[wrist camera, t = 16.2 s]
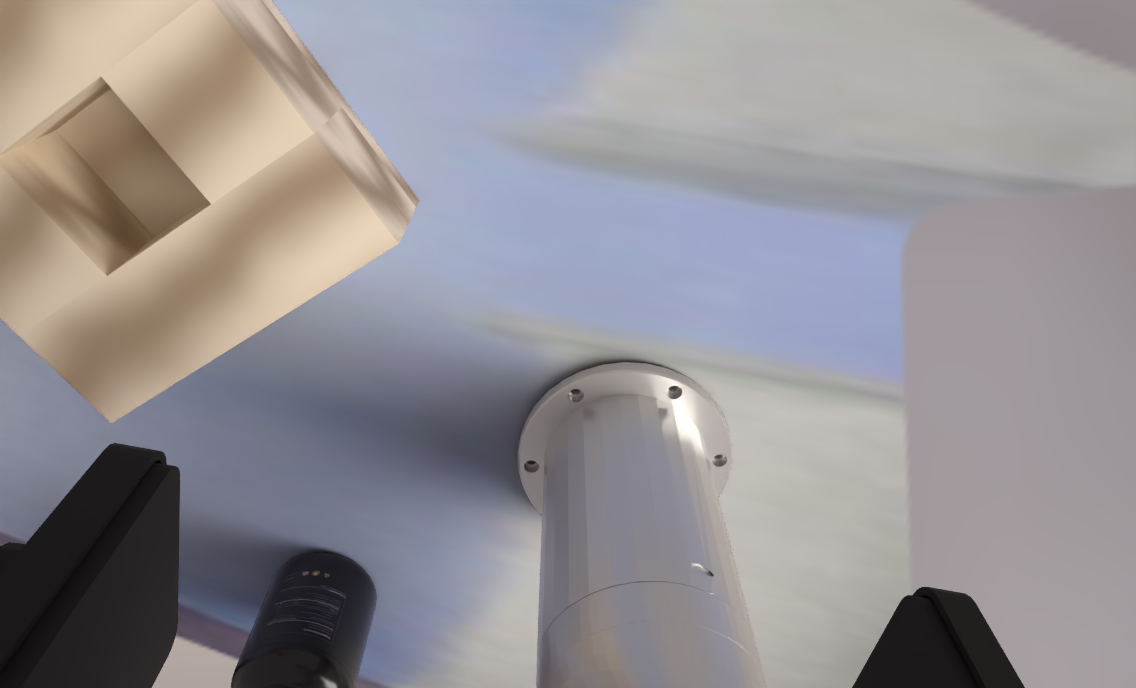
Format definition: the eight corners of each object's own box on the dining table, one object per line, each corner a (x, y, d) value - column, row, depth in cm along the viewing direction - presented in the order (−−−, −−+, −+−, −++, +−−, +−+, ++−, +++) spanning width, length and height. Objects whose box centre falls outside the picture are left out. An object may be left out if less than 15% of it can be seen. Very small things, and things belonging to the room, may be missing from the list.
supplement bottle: (380, 628, 57) (338, 795, 46) (278, 622, 57) (213, 789, 46) (378, 550, 54) (332, 711, 43) (270, 544, 53) (197, 704, 43)
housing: (419, 200, 43) (398, 243, 38) (162, 364, 47) (111, 423, 42) (163, -146, 36) (93, -153, 30) (-112, 86, 40) (-214, 115, 35)
